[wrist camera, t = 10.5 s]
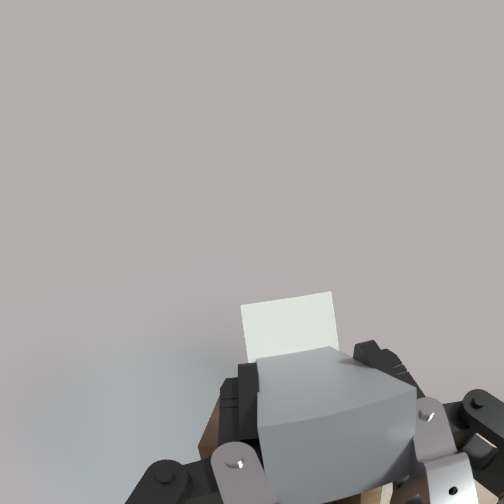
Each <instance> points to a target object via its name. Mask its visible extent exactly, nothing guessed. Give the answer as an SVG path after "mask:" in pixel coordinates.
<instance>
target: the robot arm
mask: <svg viewBox="0 0 504 504" xmlns="http://www.w3.org/2000/svg"><path fill="white" fill-rule="evenodd" d="M353 359H354V360H356V361H358V362H360V363H362V364H364V365H366V366H368V367H370V368H372V369H374V368H375V369H377V370H379V371H381V372H384V373H386V374H388V375H390V376H392V377H394V378H396V379H399V380H401V381H403V382H405V383H407V384H409V385H412V386H414V387H416V388H417V401H416V428H415V436H413V438H412V443H411V447H410V458H411V474H410V475H408V476H405V477H403V478H401V479H398V480H396V481H393V493H392V497H391V500H390V504H478V500H477V495H476V489H475V484H474V479H475V480H476V481H477V482H479V483H480V484H481V485H483V486H484V487H485V488H486V489H488V490H489V491H490V492H492V493H493V494H494V495H496V496H497V497H498V498H499V500H498V502H497V503H496V504H504V403H503V402H502V401H500V400H499V399H497V398H495V397H494V396H492V395H491V394H489V393H488V392H486V391H484V390H481V389H475V390H471V391H469V392H468V393H467V394H466V395H465V397H464V399H463V401H460V402H453V403H447V404H441V403H440V402H439V401H438V400H436V399H434V398H430V397H426V396H425V395H424V394H423V392H422V391H421V390H420V388H419V387H418V385H417V383H416V382H415V381H414V379H413V378H412V376H411V375H410V373H409V372H407V369H406V368H405V366H404V365H402V362H401V361H400V359H399V358H398V357H397V355H396V354H394V353H393V352H391V351H389V350H388V349H383V350H381V349H380V348H379V346H378V345H377V344H376V342H375V341H374V340H370V341H366V342H363V343H358V344H356V345H355V347H354V355H353ZM257 392H260V389H259V372H258V366H257V362H253V363H245V364H238V377H236V378H226V379H225V381H224V383H223V385H222V386H221V388H220V404H219V408H220V410H219V428H218V444H217V447H216V449H215V450H214V452H213V453H212V454H211V455H210V456H208V457H207V458H205V459H203V460H200V461H197V462H193V463H189V464H185V465H181V464H180V463H179V462H176V461H173V460H160V461H157V462H155V463H153V464H152V465H151V466H149V468H148V469H147V470H146V472H145V474H144V475H143V477H142V478H141V480H140V481H139V483H138V484H137V486H136V487H135V489H134V491H133V492H132V493H131V495H130V497H129V498H128V500H127V501H126V503H125V504H281V503H280V502H279V501H278V499H277V497H276V495H275V493H274V491H273V489H272V487H271V485H270V482H269V480H268V478H267V476H266V475H265V470H264V464H263V458H262V452H261V446H260V440H259V434H258V428H257ZM476 433H478V434H480V435H481V436H482V437H484V438H485V439H487V440H488V441H489V442H491V443H492V444H493V445H495V446H496V447H497V448H495V447H493V446H491V445H490V444H488V443H487V442H486V441H484V440H483V439H482V438H480V437H479V436H477V435H476ZM473 478H474V479H473Z"/></svg>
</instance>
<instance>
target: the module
mask: <svg viewBox="0 0 504 504" xmlns="http://www.w3.org/2000/svg"><path fill="white" fill-rule="evenodd" d="M241 313H242V320H243V327H244V334H245V341H246V348H247V355H248V361H249V363H253V362H257V366H258V372H259V389H260V392H257V428H258V434H259V440H260V446H261V452H262V458H263V464H264V470H265V475H266V476H267V478H268V480H269V482H270V485H271V487H272V489H273V491H274V493H275V495H276V497H277V499H278V501H279V502H280V503H281V504H322V503H326V502H331V501H335V500H339V499H342V498H346V497H350V496H353V495H356V494H360V493H363V492H366V491H369V490H372V489H375V488H378V487H380V486H383V485H386V484H388V483H391V482H393V481H396V480H398V479H401V478H403V477H405V476H408V475H410V474H411V458H410V447H411V443H412V438H413V436H415V428H416V401H417V388H416V387H414V386H412V385H409V384H407V383H405V382H403V381H401V380H399V379H396V378H394V377H392V376H390V375H388V374H386V373H384V372H381V371H379V370H377V369H375V368H374V369H372V368H370V367H368V366H366V365H364V364H362V363H360V362H358V361H356V360H354V359H353V357H351V356H349V355H346V354H345V353H342V352H341V351H339V346H338V337H337V329H336V322H335V315H334V308H333V301H332V295H331V291H330V292H325V293H318V294H312V295H307V296H301V297H295V298H288V299H282V300H274V301H268V302H260V303H253V304H246V305H241Z"/></svg>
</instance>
